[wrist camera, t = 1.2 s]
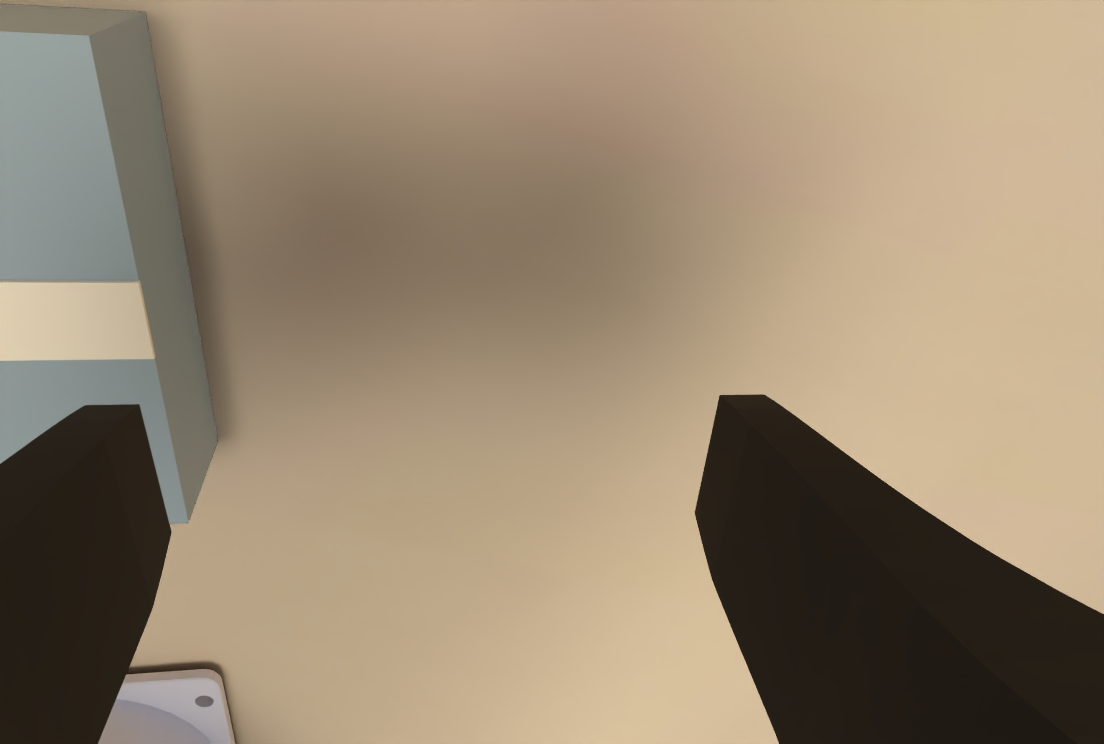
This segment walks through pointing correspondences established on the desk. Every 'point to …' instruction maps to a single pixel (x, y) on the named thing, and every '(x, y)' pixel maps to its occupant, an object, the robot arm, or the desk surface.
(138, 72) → the carton
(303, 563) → the desk surface
